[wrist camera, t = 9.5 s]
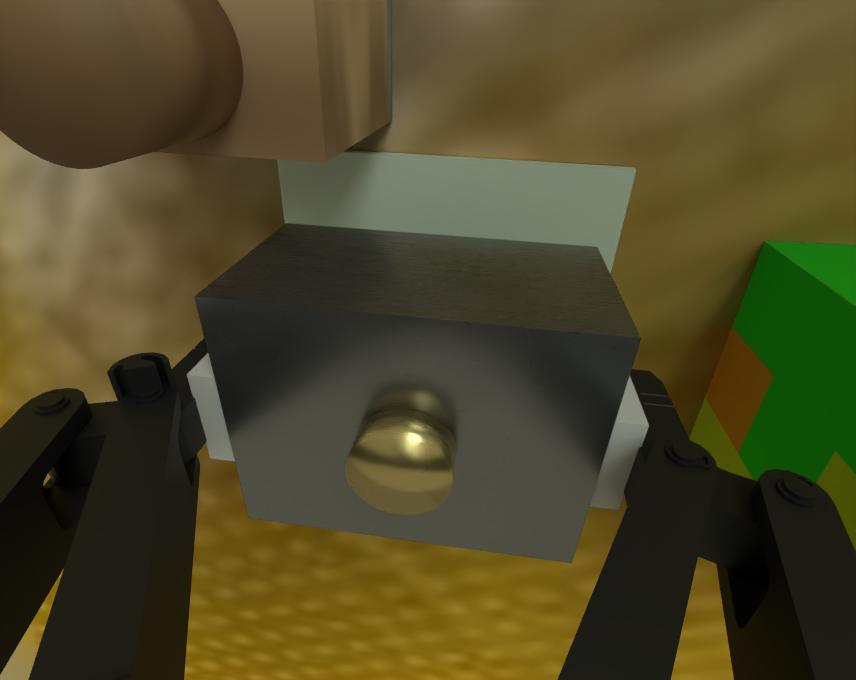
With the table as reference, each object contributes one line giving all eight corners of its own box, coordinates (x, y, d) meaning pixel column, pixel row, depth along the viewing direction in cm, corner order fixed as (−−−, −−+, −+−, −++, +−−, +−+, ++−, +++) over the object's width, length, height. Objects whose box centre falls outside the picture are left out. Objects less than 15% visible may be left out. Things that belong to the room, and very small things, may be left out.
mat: (633, 167, 16) (636, 169, 15) (574, 406, 21) (575, 412, 20) (280, 146, 17) (275, 148, 16) (307, 378, 22) (304, 383, 22)
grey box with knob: (597, 246, 13) (654, 367, 8) (554, 434, 17) (576, 599, 12) (286, 223, 14) (165, 319, 9) (309, 407, 18) (232, 549, 13)
